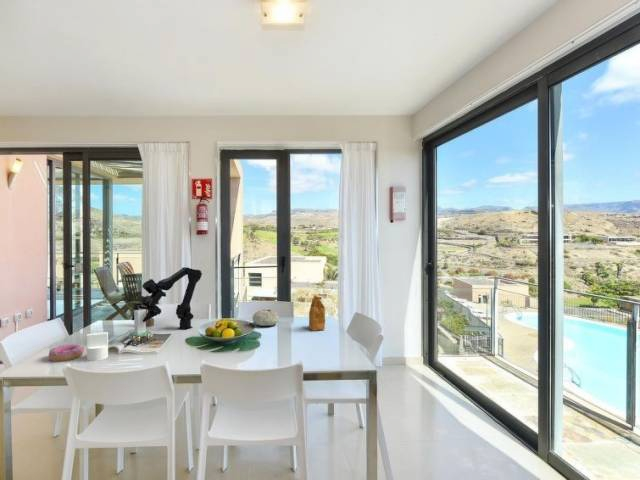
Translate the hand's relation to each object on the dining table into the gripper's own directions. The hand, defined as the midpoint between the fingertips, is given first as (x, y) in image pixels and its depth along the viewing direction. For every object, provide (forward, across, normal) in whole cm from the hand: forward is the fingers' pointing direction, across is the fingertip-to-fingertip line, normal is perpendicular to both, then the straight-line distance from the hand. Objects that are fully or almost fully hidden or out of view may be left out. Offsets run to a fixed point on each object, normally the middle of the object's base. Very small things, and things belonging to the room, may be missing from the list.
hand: (137, 320), depth 203 cm
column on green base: (+5, 0, +7) cm, 8 cm away
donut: (+32, -9, -14) cm, 36 cm away
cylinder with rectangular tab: (+27, +5, -9) cm, 29 cm away
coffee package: (-44, +76, +61) cm, 107 cm away
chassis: (+8, 0, +10) cm, 12 cm away
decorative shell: (-38, +41, +56) cm, 79 cm away
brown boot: (-10, -28, +28) cm, 40 cm away
